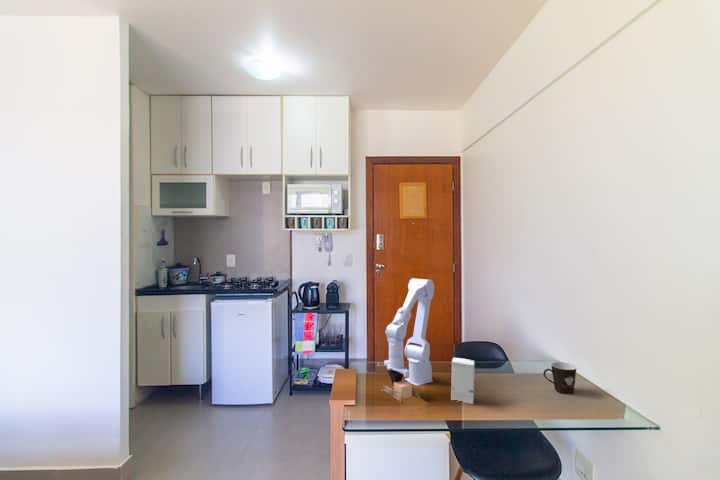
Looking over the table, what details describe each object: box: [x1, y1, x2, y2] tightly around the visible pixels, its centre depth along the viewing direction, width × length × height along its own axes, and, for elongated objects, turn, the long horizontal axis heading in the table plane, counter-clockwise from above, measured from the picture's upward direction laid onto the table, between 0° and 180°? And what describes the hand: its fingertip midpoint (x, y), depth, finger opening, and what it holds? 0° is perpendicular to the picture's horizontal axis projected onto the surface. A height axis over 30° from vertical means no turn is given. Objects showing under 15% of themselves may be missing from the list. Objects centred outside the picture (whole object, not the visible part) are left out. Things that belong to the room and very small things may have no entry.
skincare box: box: [450, 357, 476, 405], centre depth 125 cm, size 8×6×15 cm
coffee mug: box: [543, 361, 577, 395], centre depth 132 cm, size 12×9×10 cm
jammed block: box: [394, 379, 413, 399], centre depth 128 cm, size 5×5×5 cm
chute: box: [382, 384, 420, 403], centre depth 129 cm, size 12×8×2 cm
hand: (396, 388), depth 131 cm, fingers closed
